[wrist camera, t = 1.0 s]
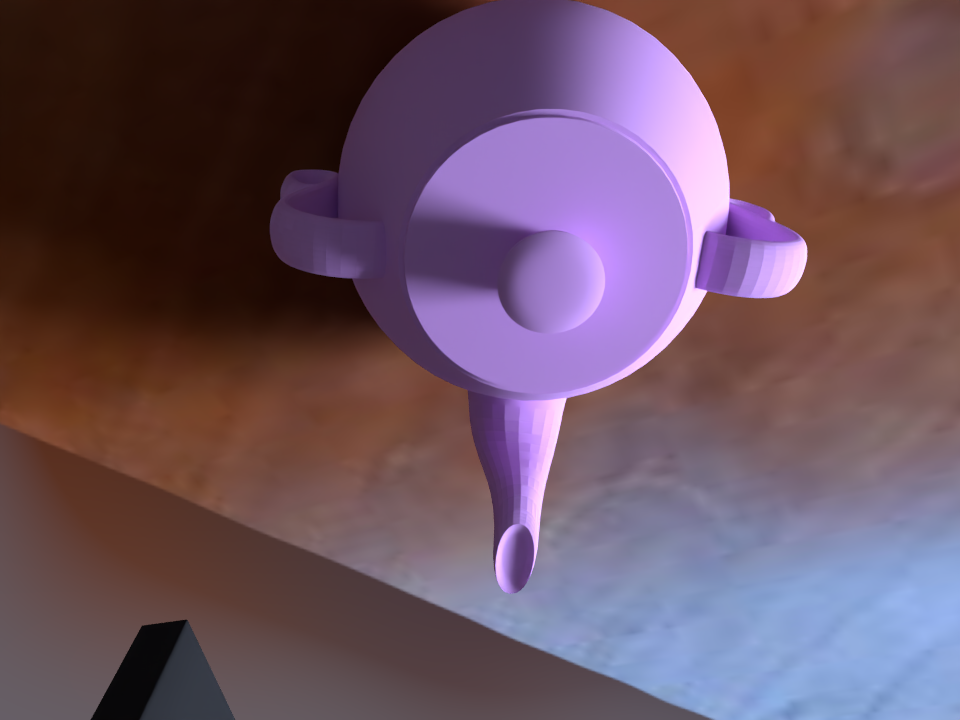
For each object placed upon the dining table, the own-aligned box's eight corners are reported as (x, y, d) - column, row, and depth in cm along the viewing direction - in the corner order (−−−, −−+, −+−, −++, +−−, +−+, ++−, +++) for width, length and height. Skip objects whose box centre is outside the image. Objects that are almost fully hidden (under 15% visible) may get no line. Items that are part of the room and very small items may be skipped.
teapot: (312, 415, 40) (238, 590, 28) (290, -17, 31) (167, -45, 19) (695, 433, 41) (792, 611, 29) (785, 15, 32) (985, 9, 19)
